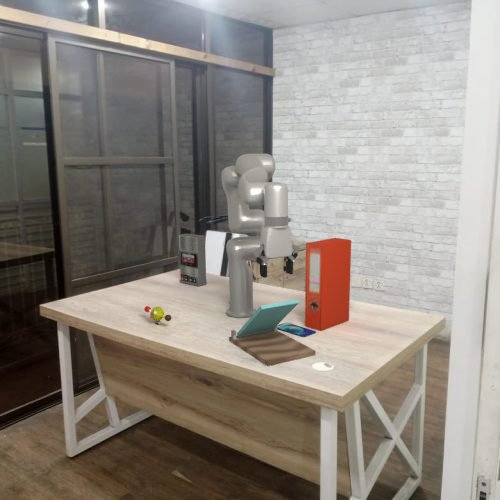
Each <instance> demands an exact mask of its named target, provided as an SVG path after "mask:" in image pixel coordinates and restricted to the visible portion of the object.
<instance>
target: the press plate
mask: <svg viewBox="0 0 500 500" xmlns="http://www.w3.org/2000/svg"><path fill="white" fill-rule="evenodd" d="M299 304H300V302H299V300H298V299H293V300H287V301H281V302H275V303H270V304H264V305H263V304H262V305H260V306H259V307H258V308H256V310H257V311H256V312H255V313H254V314H253V315H252V316H250V318H248V320H247V321H246V322H245V323H244V325H243V326H242V327H241V328H240V329H239V331H237V332H236V336H237V335H238V337H242V336H247V335H252V334H258V333H263V332H268V331H271V330H273V329H274V328H275V327H276V326H277V325H280V323H281V322H282V321H283V320H284V319H285V318H286V317H287V316H288V315H289V314H290V313H291V312H292V310H294V308H296V307H297V306H298V305H299Z"/></svg>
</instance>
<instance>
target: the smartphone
mask: <svg viewBox="0 0 500 500" xmlns="http://www.w3.org/2000/svg"><path fill="white" fill-rule="evenodd" d="M277 331H280V332H284V333H288V334H291V335H294V336H297V337H301V338H306V337H309V336H312V335H314V334H316V333H317V330H315V329H311V328H308V327H303V326H300V325H297V324H294V323H290V322H283V323H281V324H280V323H279V324H278V325H277Z"/></svg>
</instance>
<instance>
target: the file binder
mask: <svg viewBox="0 0 500 500" xmlns="http://www.w3.org/2000/svg"><path fill="white" fill-rule="evenodd" d="M351 258H352V240H351V239H346V238H339V237H331V238H326V239H322V240H317V241H312V242H311V241H310V242H307V243H305V286H304V288H305V291H304V293H305V294H304V296H305V298H304V299H305V301H304V302H305V303H304V326H305V328H307V329H311V330H314V331H319V332H323V331H325V330H328V329H330V328H333V327H335V326H338V325H341V324H344V323H346V322H348V321H350V295H351V293H350V292H351V289H350V288H351V266H352V265H351V264H352V263H351V262H352V261H351V260H352V259H351Z"/></svg>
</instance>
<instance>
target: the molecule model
mask: <svg viewBox="0 0 500 500" xmlns="http://www.w3.org/2000/svg"><path fill="white" fill-rule="evenodd" d="M144 312H145V313H149V314H150V316H149V317H150V318H151V319H152V320H154V321H155V322H154V324H155V325H157V326H158V325H161V320H162V319H163V318H164V320H165V321H166V322H170V321H171V320H172V315H170V314H166V315H165V310H164V309H163V308H162V307H160V306H154V307H150V306H148V305H147V306H145V307H144Z"/></svg>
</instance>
